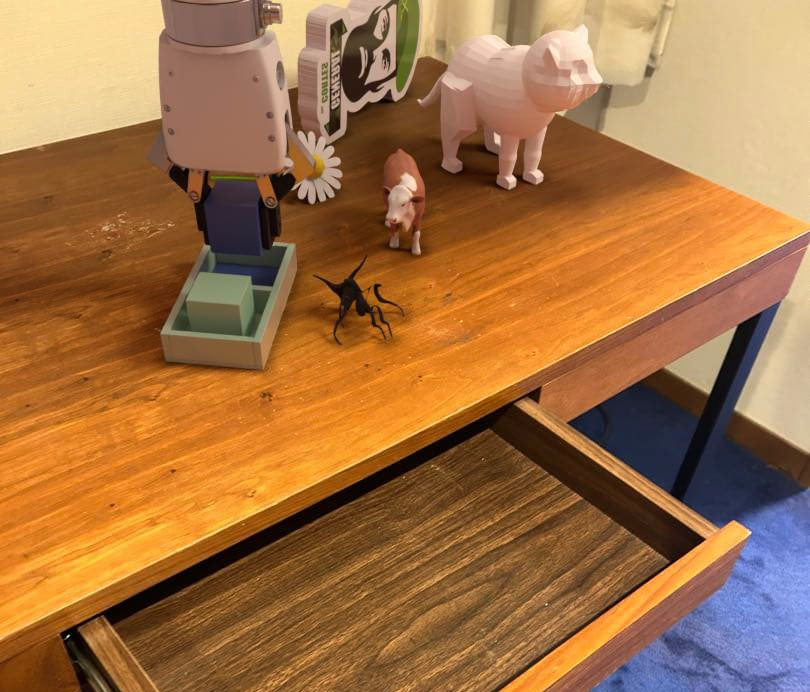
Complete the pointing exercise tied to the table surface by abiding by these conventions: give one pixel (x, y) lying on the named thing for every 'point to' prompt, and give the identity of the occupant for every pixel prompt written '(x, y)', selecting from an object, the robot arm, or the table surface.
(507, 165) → the cat figurine
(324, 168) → the decorative flower
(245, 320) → the celadon block
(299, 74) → the cutout
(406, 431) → the table surface
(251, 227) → the indigo block
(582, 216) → the table surface
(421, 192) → the bull figurine
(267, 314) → the sorting tray
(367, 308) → the creature
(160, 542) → the table surface
